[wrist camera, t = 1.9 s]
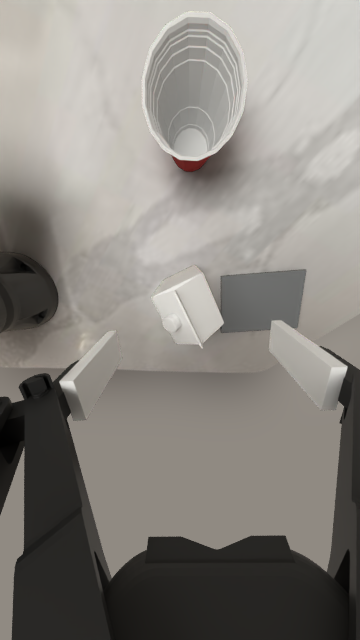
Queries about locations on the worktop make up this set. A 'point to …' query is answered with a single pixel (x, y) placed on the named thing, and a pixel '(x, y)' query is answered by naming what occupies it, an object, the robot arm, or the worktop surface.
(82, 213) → the worktop surface
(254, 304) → the gray mat
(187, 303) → the milk carton
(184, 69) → the plastic cup
